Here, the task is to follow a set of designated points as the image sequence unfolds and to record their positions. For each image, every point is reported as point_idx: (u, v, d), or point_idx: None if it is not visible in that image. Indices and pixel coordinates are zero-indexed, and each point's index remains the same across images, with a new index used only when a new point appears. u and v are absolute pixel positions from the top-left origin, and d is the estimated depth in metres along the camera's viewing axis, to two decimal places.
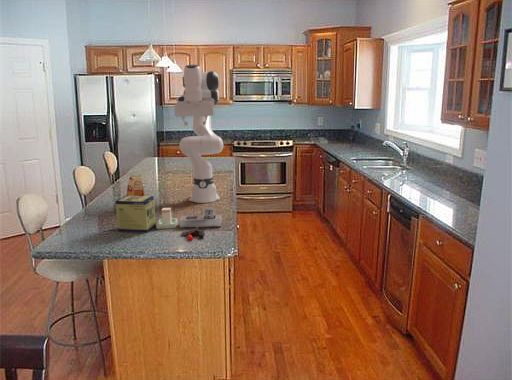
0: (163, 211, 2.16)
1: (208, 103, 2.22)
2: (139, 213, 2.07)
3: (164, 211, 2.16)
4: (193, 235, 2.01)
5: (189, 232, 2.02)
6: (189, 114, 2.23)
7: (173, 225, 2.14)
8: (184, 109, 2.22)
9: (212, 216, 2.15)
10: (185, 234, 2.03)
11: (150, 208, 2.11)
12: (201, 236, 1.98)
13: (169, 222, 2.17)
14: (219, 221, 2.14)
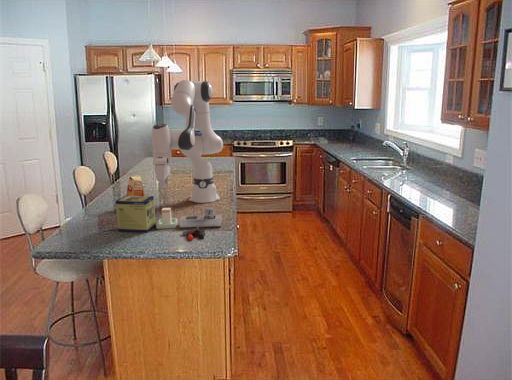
0: (163, 211, 2.16)
1: None
2: (139, 213, 2.07)
3: (164, 211, 2.16)
4: (194, 235, 2.01)
5: (190, 231, 2.03)
6: (166, 175, 2.11)
7: (173, 225, 2.14)
8: (165, 171, 2.08)
9: (212, 216, 2.15)
10: (186, 234, 2.03)
11: (150, 208, 2.11)
12: (201, 236, 1.98)
13: (169, 222, 2.17)
14: (219, 221, 2.14)
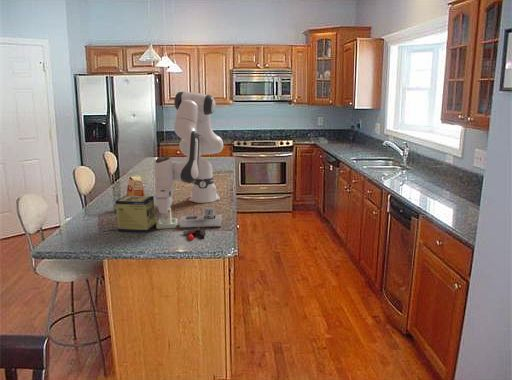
0: None
1: None
2: (139, 213, 2.07)
3: None
4: (194, 235, 2.02)
5: (190, 231, 2.03)
6: (168, 207, 2.15)
7: (173, 225, 2.14)
8: (167, 203, 2.12)
9: (212, 216, 2.15)
10: (186, 233, 2.03)
11: (150, 208, 2.11)
12: (202, 236, 1.98)
13: (169, 222, 2.17)
14: (219, 221, 2.14)
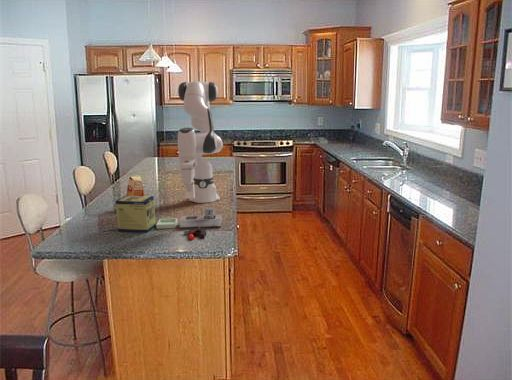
0: None
1: None
2: (139, 213, 2.07)
3: None
4: (195, 234, 2.02)
5: (191, 231, 2.03)
6: (192, 179, 2.10)
7: (173, 225, 2.14)
8: None
9: (212, 216, 2.15)
10: (187, 233, 2.04)
11: (150, 208, 2.11)
12: (202, 235, 1.98)
13: (192, 195, 2.12)
14: (219, 221, 2.14)
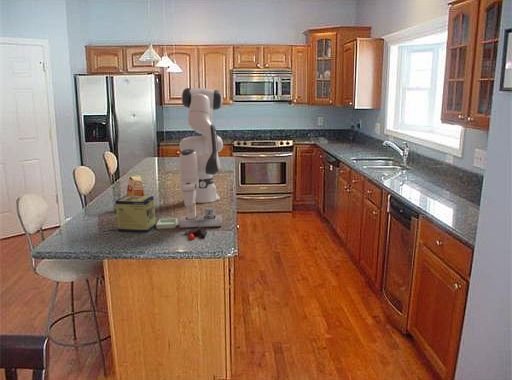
0: None
1: None
2: (139, 213, 2.07)
3: None
4: (195, 234, 2.02)
5: (192, 230, 2.04)
6: None
7: (173, 225, 2.14)
8: (192, 197, 2.10)
9: (212, 216, 2.15)
10: (188, 233, 2.04)
11: (150, 208, 2.11)
12: (202, 235, 1.99)
13: (194, 215, 2.15)
14: (219, 221, 2.14)
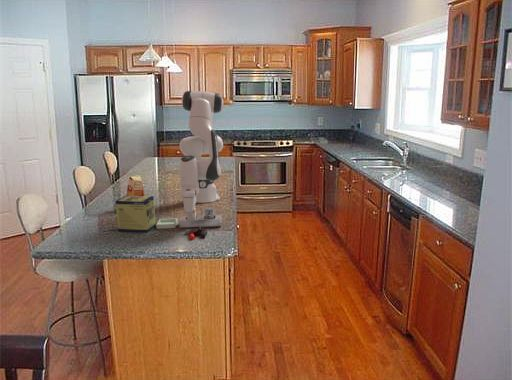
0: None
1: None
2: (139, 213, 2.07)
3: None
4: (195, 234, 2.02)
5: (192, 230, 2.04)
6: None
7: (173, 225, 2.14)
8: (193, 203, 2.10)
9: (212, 216, 2.15)
10: (188, 233, 2.04)
11: (150, 208, 2.11)
12: (203, 235, 1.99)
13: None
14: (219, 221, 2.14)
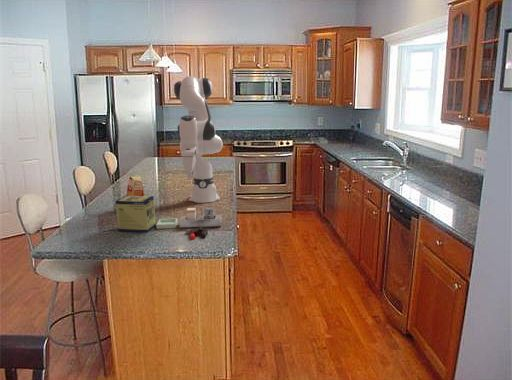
0: (188, 211, 2.14)
1: None
2: (139, 213, 2.07)
3: (189, 211, 2.14)
4: (196, 234, 2.03)
5: (193, 230, 2.04)
6: (193, 166, 2.15)
7: (173, 225, 2.14)
8: None
9: (212, 216, 2.15)
10: (189, 232, 2.05)
11: (150, 208, 2.11)
12: (203, 235, 1.99)
13: None
14: (219, 221, 2.14)
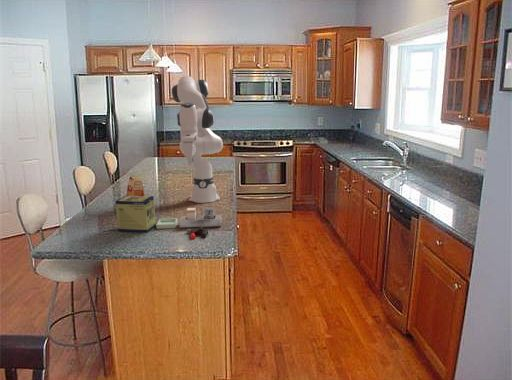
0: (188, 211, 2.14)
1: None
2: (139, 213, 2.07)
3: (189, 211, 2.14)
4: (197, 234, 2.03)
5: (193, 230, 2.04)
6: (193, 153, 2.19)
7: (173, 225, 2.14)
8: None
9: (212, 216, 2.15)
10: (189, 232, 2.05)
11: (150, 208, 2.11)
12: (203, 235, 1.99)
13: None
14: (219, 221, 2.14)
